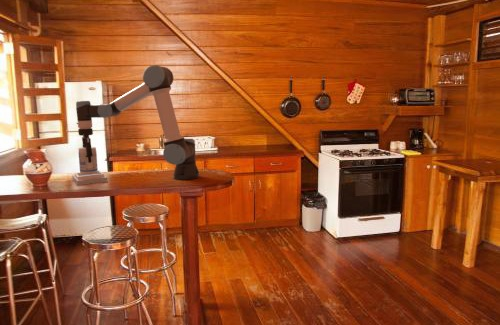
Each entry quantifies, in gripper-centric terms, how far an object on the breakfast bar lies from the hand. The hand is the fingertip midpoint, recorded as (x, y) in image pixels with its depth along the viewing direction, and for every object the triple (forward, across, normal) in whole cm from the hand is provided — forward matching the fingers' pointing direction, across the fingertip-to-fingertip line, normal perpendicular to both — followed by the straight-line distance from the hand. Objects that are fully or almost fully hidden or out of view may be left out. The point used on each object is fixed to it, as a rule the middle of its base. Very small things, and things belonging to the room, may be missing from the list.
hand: (88, 166), depth 226 cm
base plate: (+8, 0, 0) cm, 8 cm away
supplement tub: (+4, 0, 0) cm, 4 cm away
